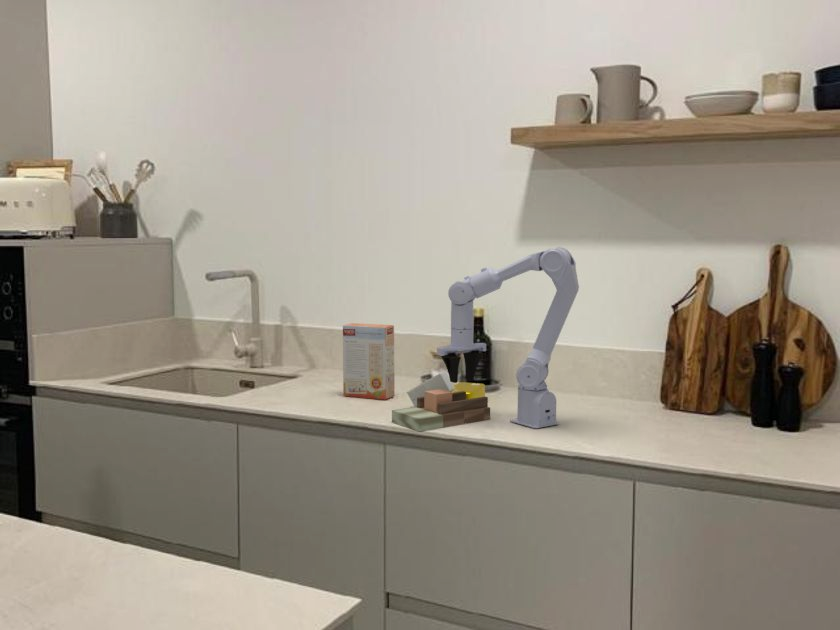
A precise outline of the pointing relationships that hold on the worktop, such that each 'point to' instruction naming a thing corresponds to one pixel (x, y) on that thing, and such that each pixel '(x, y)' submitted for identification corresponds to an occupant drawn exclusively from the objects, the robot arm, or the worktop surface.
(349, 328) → the cracker box
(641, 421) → the worktop surface
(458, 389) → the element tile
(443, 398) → the block
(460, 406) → the trap channel
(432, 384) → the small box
